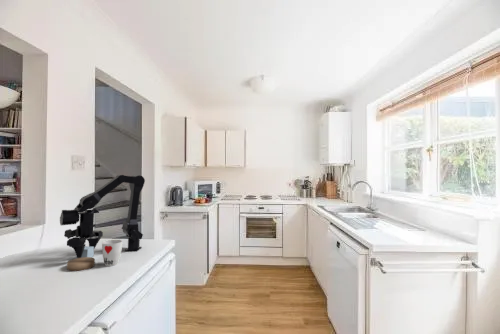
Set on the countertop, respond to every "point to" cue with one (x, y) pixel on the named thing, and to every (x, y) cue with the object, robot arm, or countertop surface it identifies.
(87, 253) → the block
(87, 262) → the brown shallow bowl
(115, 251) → the cup
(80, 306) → the countertop surface
